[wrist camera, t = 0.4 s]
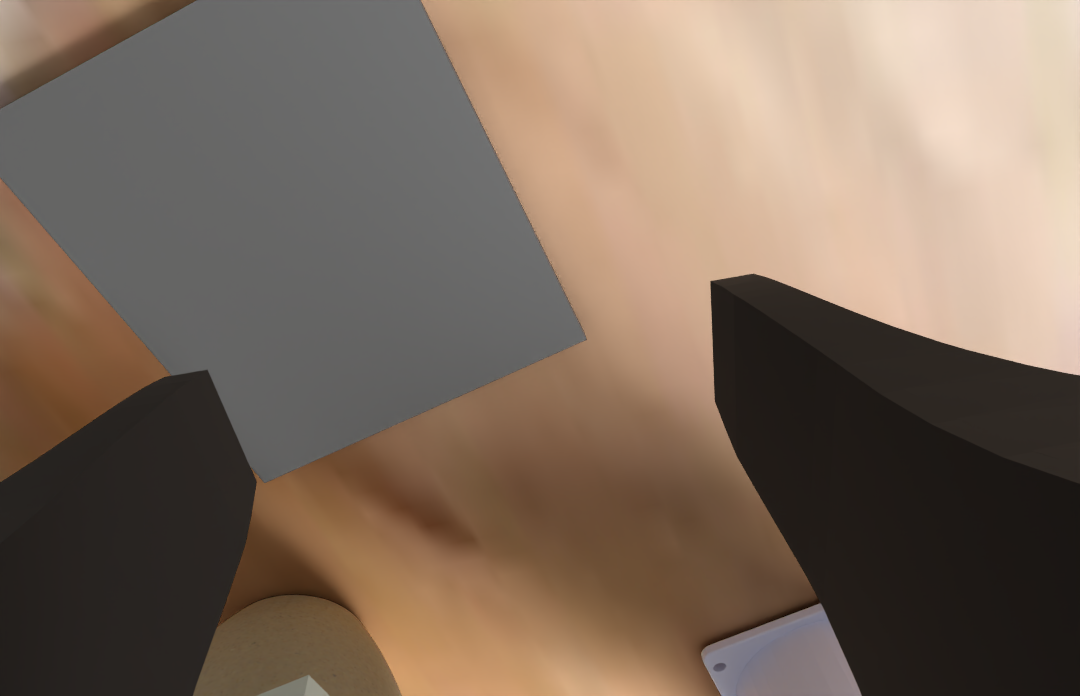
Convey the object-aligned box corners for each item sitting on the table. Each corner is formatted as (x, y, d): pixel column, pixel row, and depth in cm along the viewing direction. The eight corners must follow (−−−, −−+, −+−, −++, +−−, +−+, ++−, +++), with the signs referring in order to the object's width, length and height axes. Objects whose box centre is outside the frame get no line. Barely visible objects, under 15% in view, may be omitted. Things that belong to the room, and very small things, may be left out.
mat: (584, 333, 22) (586, 339, 22) (267, 475, 23) (264, 483, 23) (373, -96, 16) (371, -97, 16) (-31, 127, 18) (-40, 131, 17)
